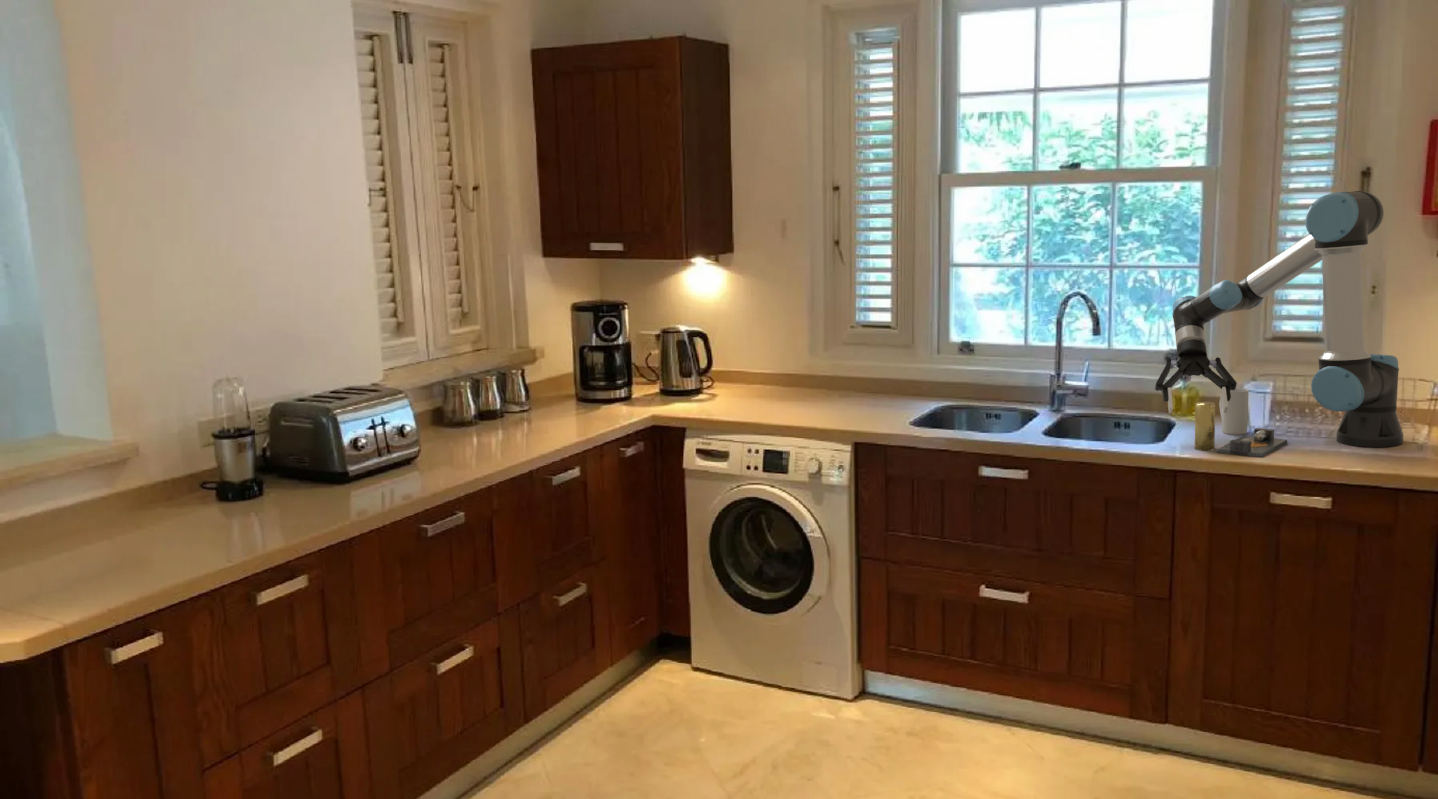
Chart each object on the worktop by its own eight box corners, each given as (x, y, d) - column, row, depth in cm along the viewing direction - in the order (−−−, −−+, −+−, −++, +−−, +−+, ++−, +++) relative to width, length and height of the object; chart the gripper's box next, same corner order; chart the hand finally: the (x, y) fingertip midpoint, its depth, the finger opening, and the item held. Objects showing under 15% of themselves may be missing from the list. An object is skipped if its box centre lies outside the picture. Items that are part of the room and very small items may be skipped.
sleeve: (1217, 447, 304) (1218, 402, 302) (1210, 451, 300) (1210, 405, 298) (1198, 445, 307) (1199, 401, 305) (1191, 449, 303) (1192, 404, 301)
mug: (1253, 433, 318) (1254, 390, 316) (1231, 435, 316) (1231, 392, 314) (1230, 427, 327) (1231, 385, 325) (1209, 429, 326) (1209, 387, 324)
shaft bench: (1243, 439, 311) (1244, 426, 311) (1287, 443, 304) (1287, 430, 303) (1216, 452, 298) (1217, 439, 297) (1261, 457, 290) (1261, 444, 290)
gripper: (1238, 353, 317) (1246, 417, 306) (1141, 355, 323) (1147, 418, 312) (1242, 336, 311) (1251, 401, 300) (1144, 338, 317) (1149, 402, 306)
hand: (1198, 410), depth 306 cm, fingers open, 13 cm apart
